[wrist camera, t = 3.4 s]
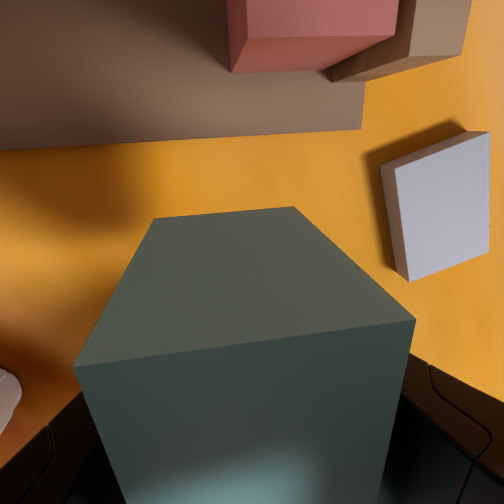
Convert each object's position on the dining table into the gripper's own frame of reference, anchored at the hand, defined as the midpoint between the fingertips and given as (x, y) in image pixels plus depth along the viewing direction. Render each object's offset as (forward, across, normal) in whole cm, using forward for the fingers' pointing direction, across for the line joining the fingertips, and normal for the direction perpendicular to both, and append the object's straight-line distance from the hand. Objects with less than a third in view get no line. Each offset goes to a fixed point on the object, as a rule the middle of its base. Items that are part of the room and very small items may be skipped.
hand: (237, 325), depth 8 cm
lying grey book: (+9, -12, 0) cm, 15 cm away
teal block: (+1, 0, 0) cm, 1 cm away
